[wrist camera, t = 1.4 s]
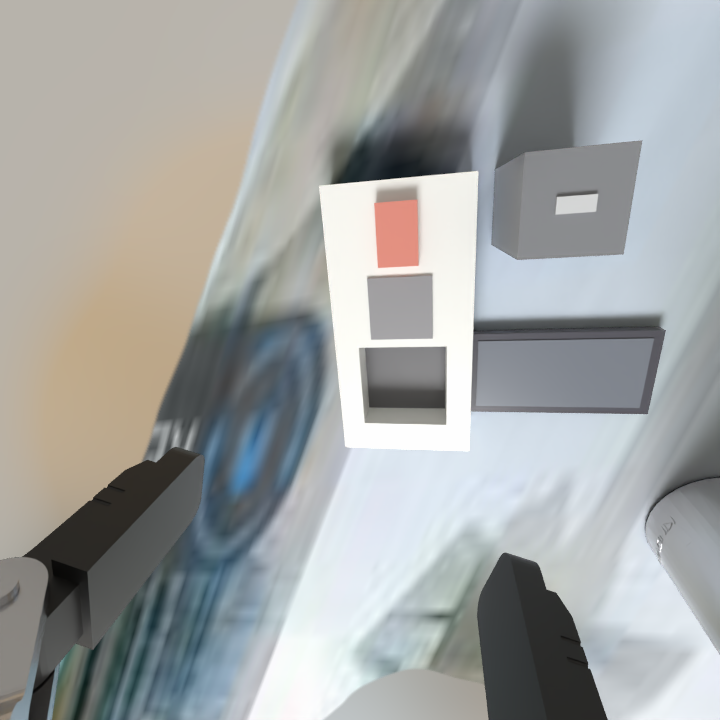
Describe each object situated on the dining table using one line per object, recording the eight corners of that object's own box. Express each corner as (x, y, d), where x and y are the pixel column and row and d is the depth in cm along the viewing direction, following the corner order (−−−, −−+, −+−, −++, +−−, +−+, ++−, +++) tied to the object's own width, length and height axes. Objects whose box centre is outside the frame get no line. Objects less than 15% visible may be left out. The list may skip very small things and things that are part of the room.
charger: (573, 162, 23) (644, 139, 15) (564, 240, 24) (624, 254, 17) (494, 169, 23) (525, 151, 16) (491, 244, 25) (518, 260, 18)
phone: (658, 326, 25) (666, 330, 24) (641, 408, 27) (647, 414, 26) (468, 330, 27) (469, 334, 26) (466, 406, 29) (467, 411, 29)
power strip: (472, 175, 24) (480, 169, 20) (465, 429, 30) (470, 457, 27) (330, 188, 25) (315, 185, 22) (352, 426, 32) (343, 453, 28)
